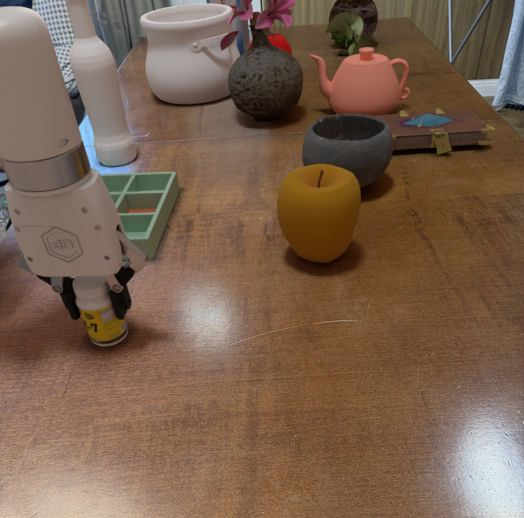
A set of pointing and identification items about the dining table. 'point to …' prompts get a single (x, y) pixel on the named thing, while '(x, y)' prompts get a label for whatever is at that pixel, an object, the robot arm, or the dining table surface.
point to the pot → (189, 52)
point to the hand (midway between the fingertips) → (101, 311)
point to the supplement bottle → (98, 311)
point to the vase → (264, 66)
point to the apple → (319, 210)
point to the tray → (143, 205)
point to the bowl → (350, 145)
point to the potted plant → (353, 24)
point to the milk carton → (237, 23)
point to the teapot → (363, 84)
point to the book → (437, 129)
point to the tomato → (278, 41)
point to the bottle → (99, 89)
